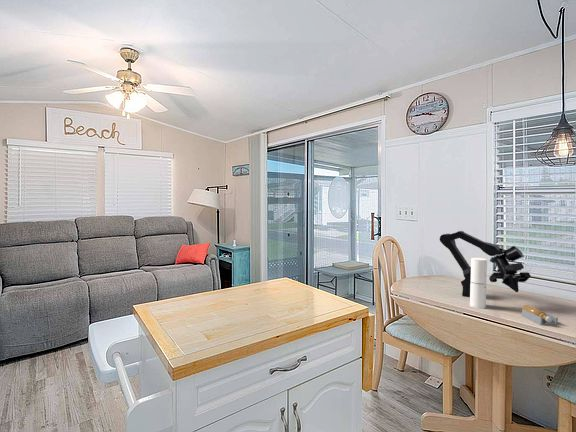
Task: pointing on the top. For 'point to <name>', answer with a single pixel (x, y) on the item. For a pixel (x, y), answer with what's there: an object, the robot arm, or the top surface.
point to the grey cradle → (539, 318)
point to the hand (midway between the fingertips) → (517, 291)
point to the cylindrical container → (478, 282)
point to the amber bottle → (538, 313)
